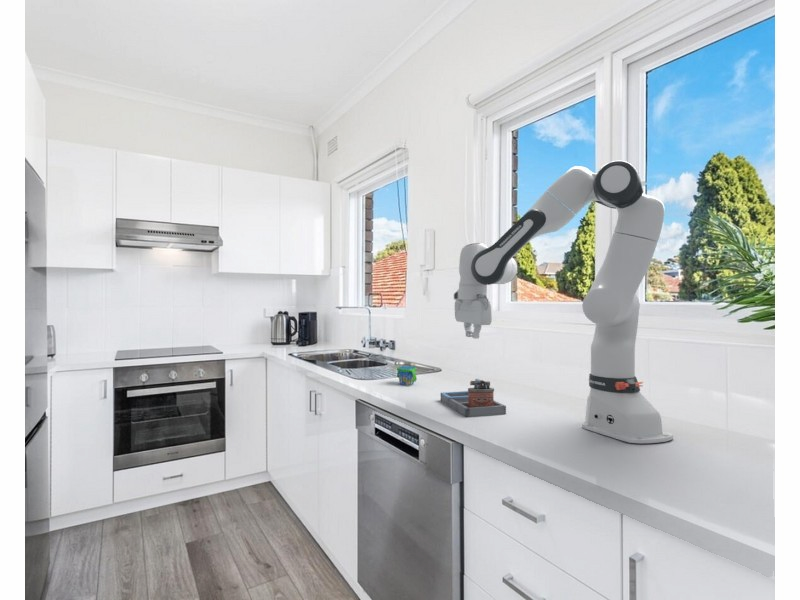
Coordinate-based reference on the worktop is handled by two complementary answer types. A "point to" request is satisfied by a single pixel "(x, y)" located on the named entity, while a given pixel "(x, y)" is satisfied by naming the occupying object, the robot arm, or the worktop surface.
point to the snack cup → (406, 375)
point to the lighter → (481, 394)
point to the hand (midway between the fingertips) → (472, 337)
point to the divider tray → (461, 404)
